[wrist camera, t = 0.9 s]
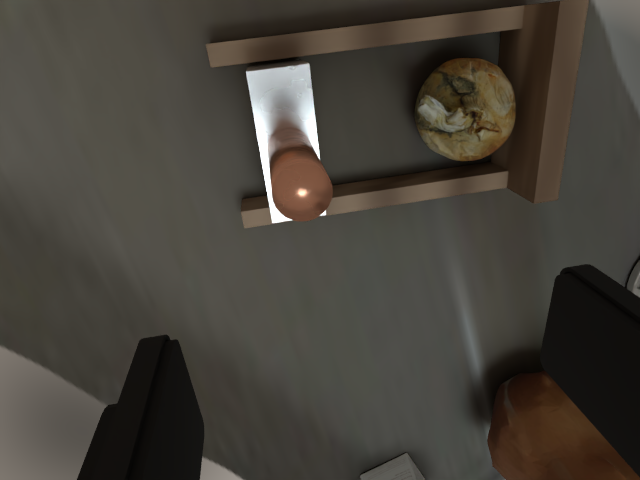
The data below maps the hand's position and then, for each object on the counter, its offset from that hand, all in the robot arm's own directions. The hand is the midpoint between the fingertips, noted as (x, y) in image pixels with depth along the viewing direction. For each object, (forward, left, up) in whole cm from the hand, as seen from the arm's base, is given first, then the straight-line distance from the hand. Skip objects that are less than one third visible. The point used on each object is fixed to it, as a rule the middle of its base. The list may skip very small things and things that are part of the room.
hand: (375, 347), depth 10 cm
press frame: (-7, 0, -28) cm, 29 cm away
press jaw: (+1, 0, -27) cm, 27 cm away
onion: (-13, 0, -28) cm, 31 cm away
